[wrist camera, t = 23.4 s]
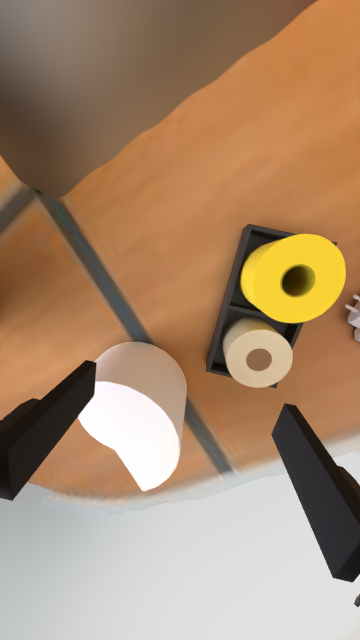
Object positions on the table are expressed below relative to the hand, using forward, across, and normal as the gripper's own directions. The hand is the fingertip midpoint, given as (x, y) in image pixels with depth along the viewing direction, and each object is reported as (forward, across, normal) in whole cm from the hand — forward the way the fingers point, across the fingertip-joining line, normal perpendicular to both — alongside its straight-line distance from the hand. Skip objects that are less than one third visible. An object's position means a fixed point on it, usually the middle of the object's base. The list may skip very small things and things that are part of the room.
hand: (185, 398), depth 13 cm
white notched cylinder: (+23, -8, -17) cm, 30 cm away
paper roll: (+22, +10, -2) cm, 25 cm away
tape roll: (+22, +11, +9) cm, 26 cm away
